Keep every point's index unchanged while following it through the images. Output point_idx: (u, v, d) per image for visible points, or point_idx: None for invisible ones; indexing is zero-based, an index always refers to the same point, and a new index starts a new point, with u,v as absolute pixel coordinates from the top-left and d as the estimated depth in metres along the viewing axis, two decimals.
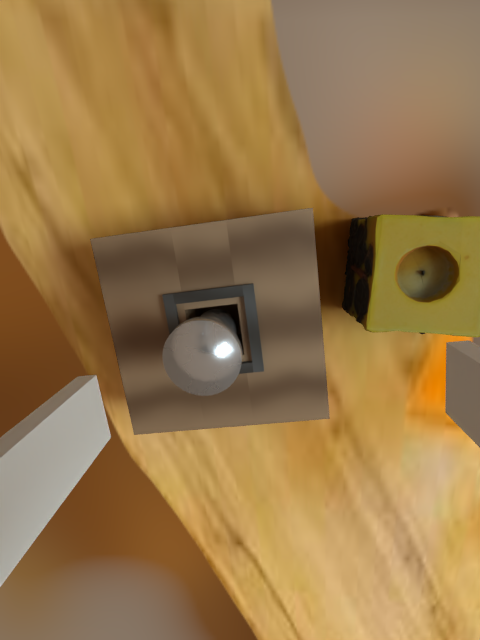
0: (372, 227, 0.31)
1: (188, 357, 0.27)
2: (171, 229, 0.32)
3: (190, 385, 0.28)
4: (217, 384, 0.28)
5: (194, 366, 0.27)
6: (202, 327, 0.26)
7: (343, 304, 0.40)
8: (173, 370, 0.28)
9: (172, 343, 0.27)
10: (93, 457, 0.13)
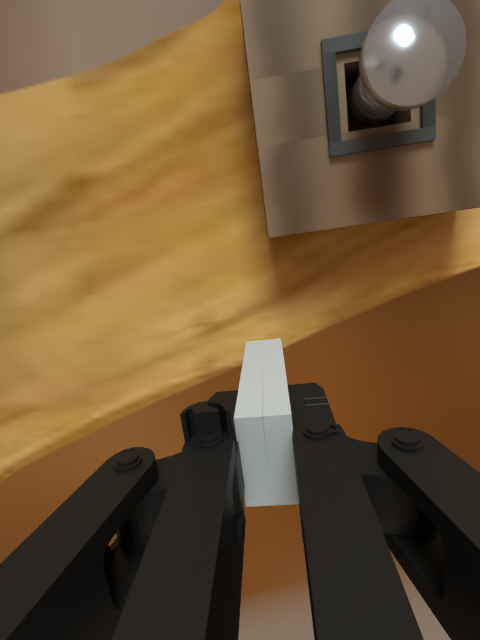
0: None
1: (410, 68, 0.22)
2: (259, 146, 0.30)
3: (449, 66, 0.22)
4: (451, 26, 0.21)
5: (423, 60, 0.22)
6: (373, 49, 0.22)
7: None
8: (427, 90, 0.22)
9: (391, 91, 0.22)
10: None
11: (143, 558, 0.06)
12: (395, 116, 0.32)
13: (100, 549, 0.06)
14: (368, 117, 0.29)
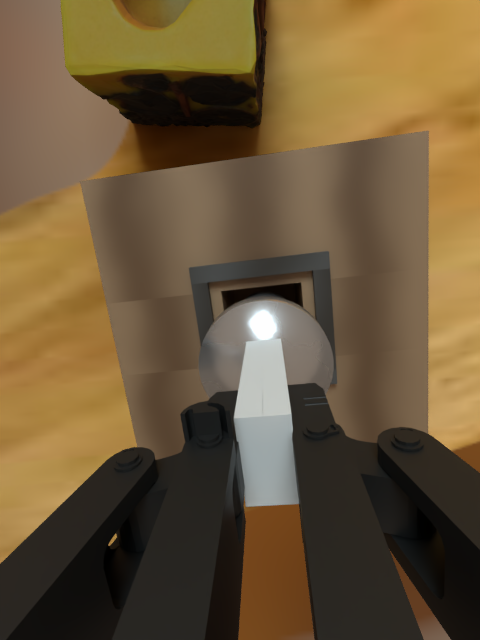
0: (97, 83, 0.20)
1: None
2: (124, 374, 0.24)
3: None
4: (312, 343, 0.16)
5: None
6: (210, 362, 0.16)
7: (251, 125, 0.27)
8: None
9: None
10: None
11: (143, 558, 0.06)
12: None
13: (100, 549, 0.06)
14: None
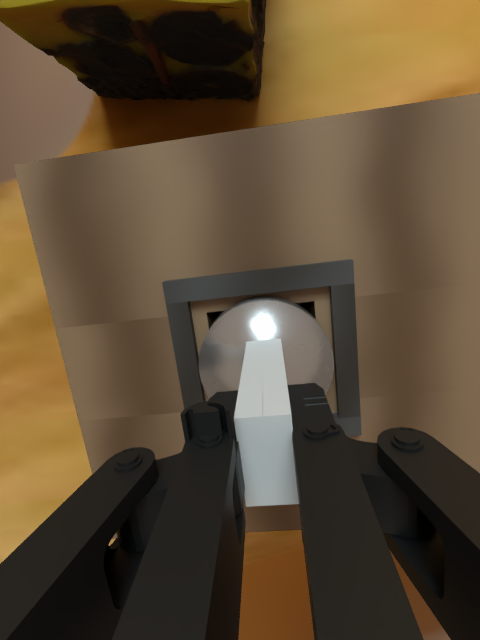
0: (29, 25, 0.14)
1: None
2: (81, 419, 0.19)
3: None
4: (312, 343, 0.16)
5: None
6: (210, 362, 0.16)
7: (248, 97, 0.21)
8: None
9: None
10: None
11: (143, 558, 0.06)
12: None
13: (100, 549, 0.06)
14: None
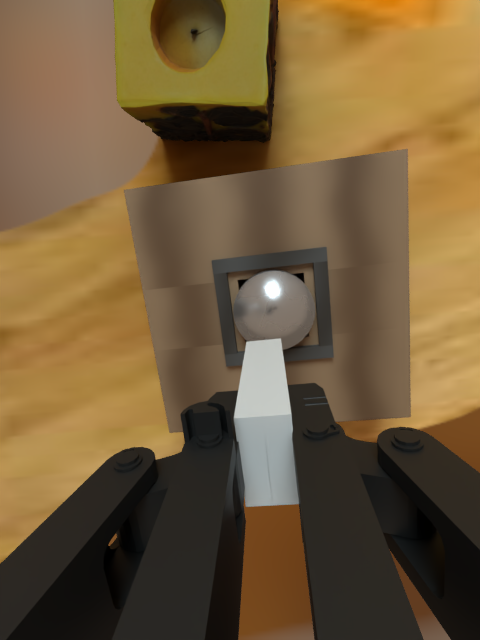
0: (139, 111, 0.25)
1: (271, 324, 0.27)
2: (156, 349, 0.29)
3: (303, 325, 0.27)
4: (302, 297, 0.26)
5: (281, 319, 0.27)
6: (240, 309, 0.27)
7: (262, 140, 0.32)
8: (286, 341, 0.27)
9: (257, 339, 0.27)
10: None
11: (143, 558, 0.06)
12: None
13: (100, 550, 0.06)
14: None
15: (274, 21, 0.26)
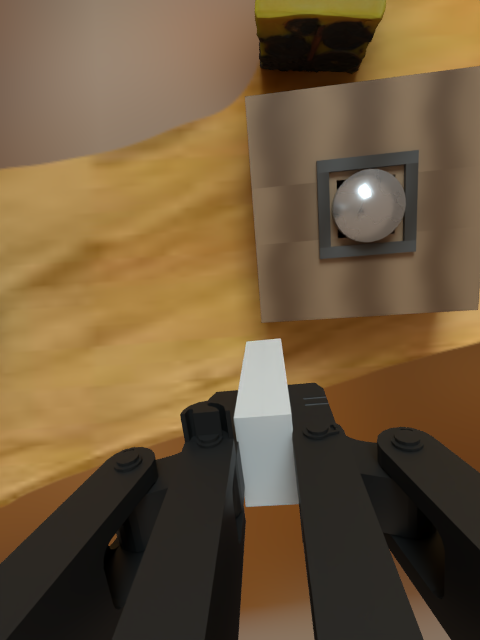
0: (267, 25, 0.29)
1: (366, 218, 0.31)
2: (257, 244, 0.34)
3: (393, 218, 0.31)
4: (395, 193, 0.30)
5: (375, 213, 0.31)
6: (340, 203, 0.31)
7: (351, 71, 0.36)
8: (377, 233, 0.31)
9: (352, 231, 0.32)
10: None
11: (143, 558, 0.06)
12: None
13: (100, 550, 0.06)
14: None
15: None
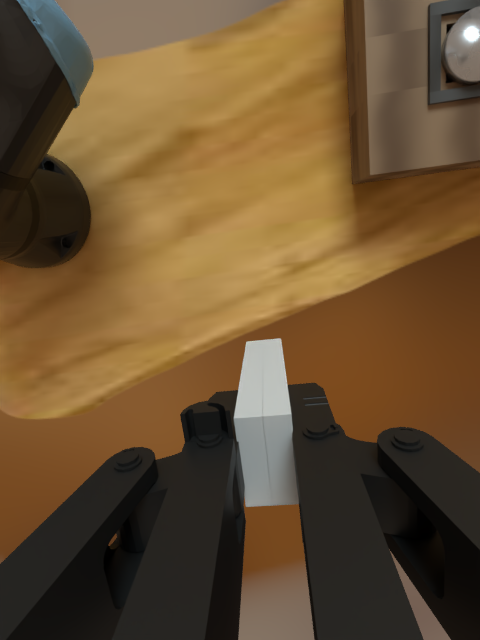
0: None
1: (477, 55, 0.34)
2: (368, 94, 0.36)
3: None
4: None
5: None
6: (453, 42, 0.33)
7: None
8: None
9: (463, 70, 0.34)
10: None
11: (143, 558, 0.06)
12: None
13: (99, 549, 0.06)
14: None
15: None
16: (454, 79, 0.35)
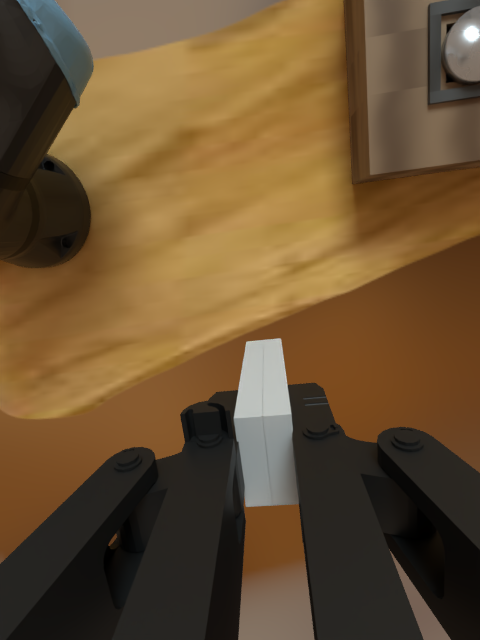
0: None
1: (477, 55, 0.34)
2: (368, 94, 0.36)
3: None
4: None
5: None
6: (453, 42, 0.33)
7: None
8: None
9: (463, 70, 0.34)
10: None
11: (143, 558, 0.06)
12: None
13: (100, 550, 0.06)
14: None
15: None
16: (454, 79, 0.35)
